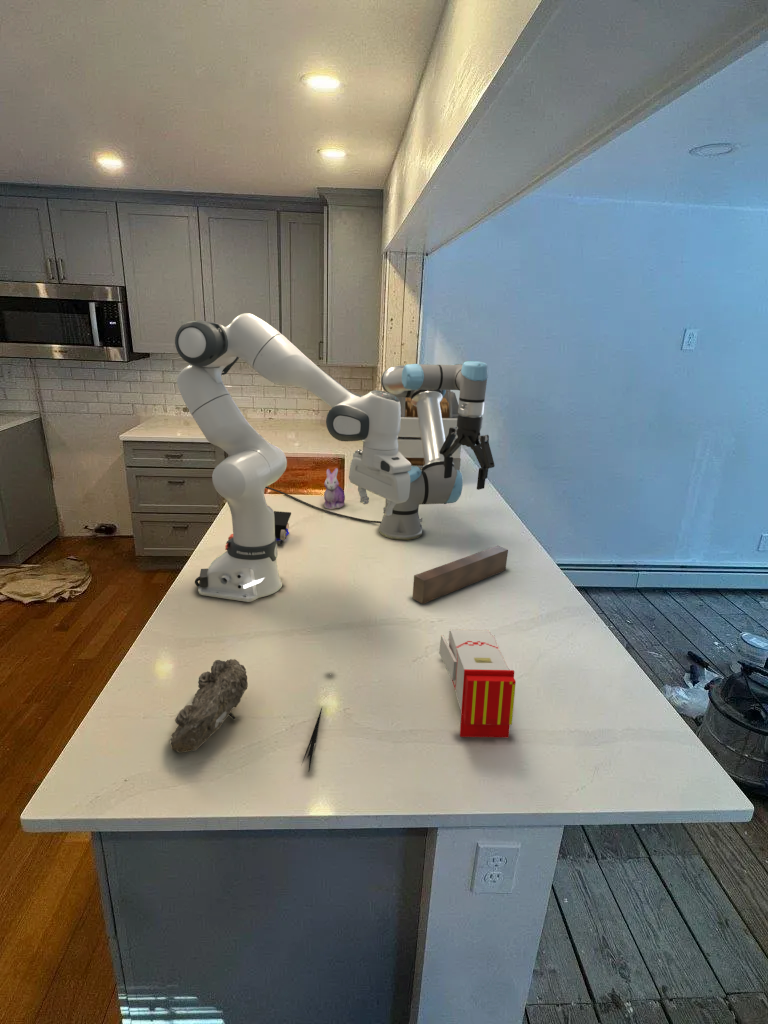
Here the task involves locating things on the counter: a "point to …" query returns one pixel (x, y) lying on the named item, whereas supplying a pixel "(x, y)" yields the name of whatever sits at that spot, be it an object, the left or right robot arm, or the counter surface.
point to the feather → (313, 740)
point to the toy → (479, 682)
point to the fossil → (210, 704)
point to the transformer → (411, 431)
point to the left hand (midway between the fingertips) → (375, 508)
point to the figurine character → (281, 525)
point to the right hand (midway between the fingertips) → (463, 483)
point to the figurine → (333, 491)
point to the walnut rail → (459, 574)
